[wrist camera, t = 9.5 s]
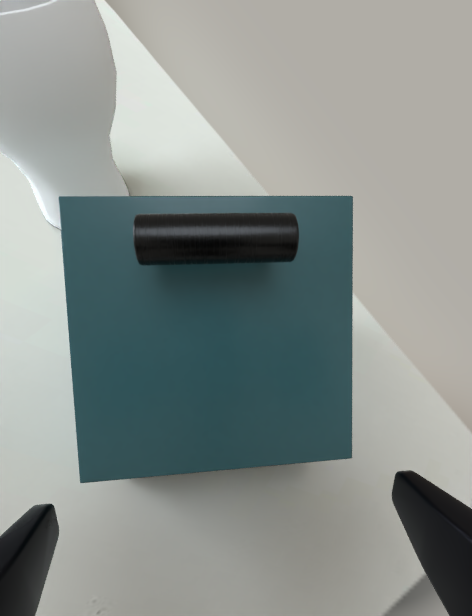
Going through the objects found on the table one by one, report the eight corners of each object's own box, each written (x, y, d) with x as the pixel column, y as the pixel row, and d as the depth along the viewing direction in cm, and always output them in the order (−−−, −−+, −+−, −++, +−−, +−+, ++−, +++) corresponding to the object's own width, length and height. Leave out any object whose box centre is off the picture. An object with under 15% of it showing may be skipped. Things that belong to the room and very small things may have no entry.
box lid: (66, 201, 13) (4, 164, 9) (344, 200, 14) (402, 167, 10) (86, 471, 14) (39, 551, 10) (344, 449, 15) (396, 511, 11)
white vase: (168, 208, 29) (134, -8, 16) (61, 267, 26) (-99, 46, 12) (106, 149, 33) (36, -73, 19) (3, 193, 29) (-172, -46, 15)
